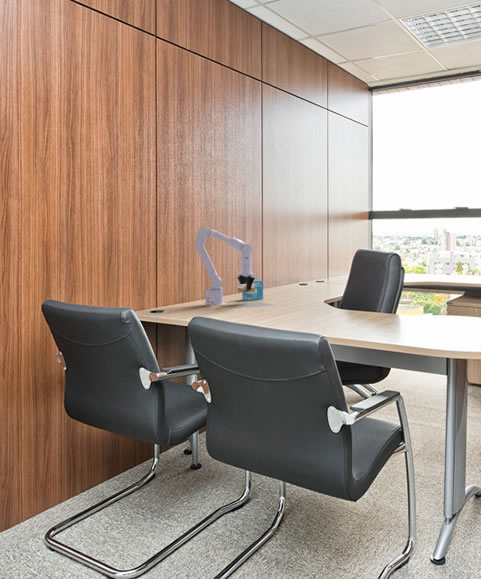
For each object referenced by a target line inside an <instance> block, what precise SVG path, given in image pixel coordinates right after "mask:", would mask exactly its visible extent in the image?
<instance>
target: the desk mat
mask: <svg viewBox="0 0 481 579" xmlns="http://www.w3.org/2000/svg"><path fill="white" fill-rule="evenodd" d="M233 305H235V306H239V307H245V308H258V307H267V306H268V307H269V306H274V304H271V303H267V302H260V301H250V302H249V301H246V302H235V303H233Z"/></svg>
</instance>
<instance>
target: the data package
mask: <svg viewBox="0 0 481 579" xmlns="http://www.w3.org/2000/svg"><path fill="white" fill-rule="evenodd" d="M252 284H255V289H254V292H241V294H242V295H241V300H243V301H258V300H259V301H260V300H263V299H264V282H263V280H260V279H254V281H253V283H252Z"/></svg>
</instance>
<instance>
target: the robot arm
mask: <svg viewBox="0 0 481 579" xmlns="http://www.w3.org/2000/svg"><path fill="white" fill-rule="evenodd" d="M208 238H216V239H218V240H220V241H222V242H225V243H227V244H228V247H230V248H231V249H233V250H236V251H238V252H241V257H240V258H241V259H240V272H238V271H237V275H236V276H237V279H238V282H239V284H246V285H247V290H251V287H252V283H253V281H254V280H256V274H255V273H253V272H252V252H253V248H252V246H251V245H250V244H248V243H246V241H242V240H240V239H238V237H237V236H236V237H229V236H227V235H225V234H223V233H221V232H220V231H217V230H215V229H212V228H208V227H206V226H202V227H200V228H199V229H198V231H197V233H196V237H195V243H194V247H195V248H196V251H197V253H198V255H199V257H200V260H201V261H202V264H203V266H204V268H205V271H206V272H207V274H208V277H209V280H210V285H211V287H209V289H207V290H206V291H205V302H204V305H207V306H217V305H226V303H225V302H224V288H223V287H222V286H223V280H222V278H221V277H220V276H219V275H218V273H217V271H216V268H215V267H214V264H213V263H212V260H211V257H210V256H209V254H208V252H207V250H206V248H205V244H206V241H207V239H208Z"/></svg>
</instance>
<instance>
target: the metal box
mask: <svg viewBox="0 0 481 579" xmlns="http://www.w3.org/2000/svg"><path fill="white" fill-rule="evenodd" d="M254 289H255V284H252V287H251V290H247V285H246V284H240V283H238V284H237V292H239V293H242V292H254Z"/></svg>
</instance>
